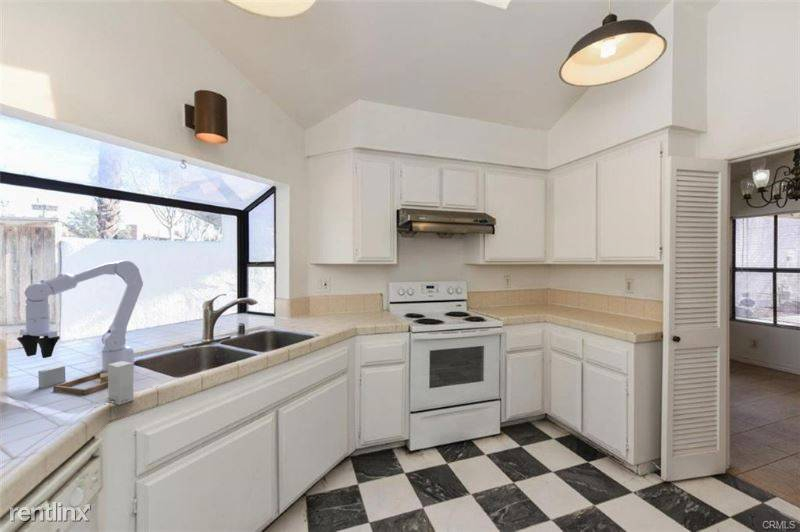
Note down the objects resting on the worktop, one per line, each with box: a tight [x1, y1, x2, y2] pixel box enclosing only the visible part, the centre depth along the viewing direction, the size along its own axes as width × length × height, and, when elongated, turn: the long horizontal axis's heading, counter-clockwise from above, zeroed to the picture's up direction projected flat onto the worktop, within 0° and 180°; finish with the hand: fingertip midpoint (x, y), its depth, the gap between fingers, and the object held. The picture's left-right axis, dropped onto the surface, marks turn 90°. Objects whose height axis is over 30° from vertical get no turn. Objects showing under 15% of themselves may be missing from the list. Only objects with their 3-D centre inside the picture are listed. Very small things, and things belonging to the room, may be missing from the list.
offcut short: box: [99, 372, 108, 384], centre depth 121 cm, size 3×5×2 cm, turn 42°
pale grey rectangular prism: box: [37, 365, 67, 389], centre depth 117 cm, size 6×2×7 cm, turn 166°
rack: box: [52, 370, 108, 396], centre depth 118 cm, size 15×14×3 cm
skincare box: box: [107, 361, 135, 406], centre depth 108 cm, size 6×4×12 cm
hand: (39, 356), depth 119 cm, fingers open, 7 cm apart
